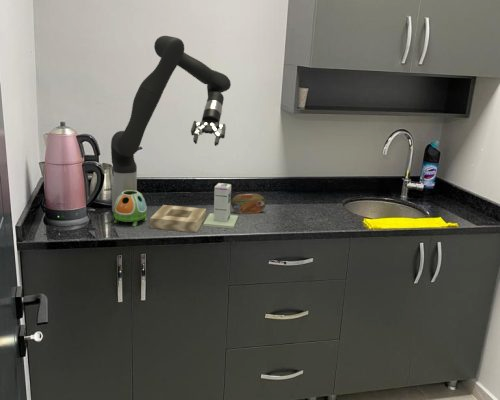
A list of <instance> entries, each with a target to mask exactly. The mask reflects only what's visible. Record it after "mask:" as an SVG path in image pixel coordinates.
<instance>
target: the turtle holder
mask: <svg viewBox="0 0 500 400" xmlns="http://www.w3.org/2000/svg"><path fill="white" fill-rule="evenodd" d="M132 193H135V194H134V195H133V194H132ZM113 209H114V212H113V217H114V218H115V220H114V221H113V223H114V224H118V223H119V222H125V223H127V222H128V223H130V222H132V224H131V226H132V227H137V226H138V222H139V221H143V222H146V221H147V219H148V218H147V203H146V200H145V198H144V196H143V193H141V192H140V191H138V190H137V191H134V190H126V191H123V192H122V193H121V195H120V196H119V197H118V198H117V200H116V202H115V205H114V208H113Z"/></svg>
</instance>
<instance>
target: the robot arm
mask: <svg viewBox="0 0 500 400" xmlns="http://www.w3.org/2000/svg"><path fill="white" fill-rule="evenodd" d="M153 48H154V52H155V54H156V55H157V56H158V57H159V58H160V59H159V62H158V64H157V65H156V67H155V69H154V70H153V71H151V73H150V74H149V75H148V76H146V78H144V79H143V80H142V82H141V84H140V85H139V87H138V89H137V92H136V93H135V96H134V98H133V101H132V107H131V113H130V118H129V121H128V122H127V125H126V127H125V129H124V130H119V131H117V132H115V133H114V134H113V135H112V137H111V141H110V153H111V163H112V168H113V171H112V173H113V189H111V202H112V203H111V208H112V209H111V211H112V213H114V209H113V208H114V205H115V202H116V200H117V198H118V197H119V196H120V195H121V193H122V192H123V191H126V190H134V191H138V190H137V189H138V187H137V186H138V184H137V183H138V180H137V179H138V178H137V175H138V174H137V173H138V172H137V163H136V161H135V157H134V155H135V154H136V153H137V152H138V150H139V149H140V146H141V143H142V140H143V137H144V134H145V131H146V129H147V126H148V125H149V122H150V120H151V119H152V116H153V114H154V112H155V110H156V108H157V107H158V104H159V102H160V100H161V98H162V95H163V93H164V90H165V89H166V87H167V84H168V83H169V80H170V79H171V77H172V75H173V73H174V71H175V70H176V68H177V67H179V68H180V69H183V71H185V72H186V73H188V74H189V75H191V76H192V77H193V78H195V79H196V80H197V81H200V83H202V84H203V85H206V90H207V91H206V92H207V99H206V103H205V105H204V110H203V114H202V116H201V117H202V118H201V121H200V122H197V120H194V121H193V123H192V126H191V128H190V133H191V136H193V143H194V144H195V145H196V144H198V138H199V136H200V135H203V134H210V135H212V134H214V136H215V137H214V144H213V145H214V146H216V147H217V146H218V145H219V143H220V140H221V139H225V137H226V136H225V135H226V130H227V129H226V128H227V127H226V123H222V124H220V122H221V117H222V114H223V113H222V112H223V104H224V99H225V98H224V95H223V93H224V92H227V91H228V90H229V89H230V88H231V85H232V84H231V83H232V82H231V79H230V77H228V76H227V75H226V74H224V73H221V72H219V71H217V70H213V69H211V67H209V66H208V65H206V64H205V63H203V62H202V61H200V60H198V59H197V58H194V57H193V56H191V55H190V54H188V53H186V52H185V44H184V42H183V40H182V39H180V38H179V37H175V36H169V35H161V36H159V37H157V39H156V40H155V42H154V47H153ZM219 129H220V130H221V133H220V132H219V131H218V130H219ZM132 194H133V195H134V194H135V193H132Z"/></svg>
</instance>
